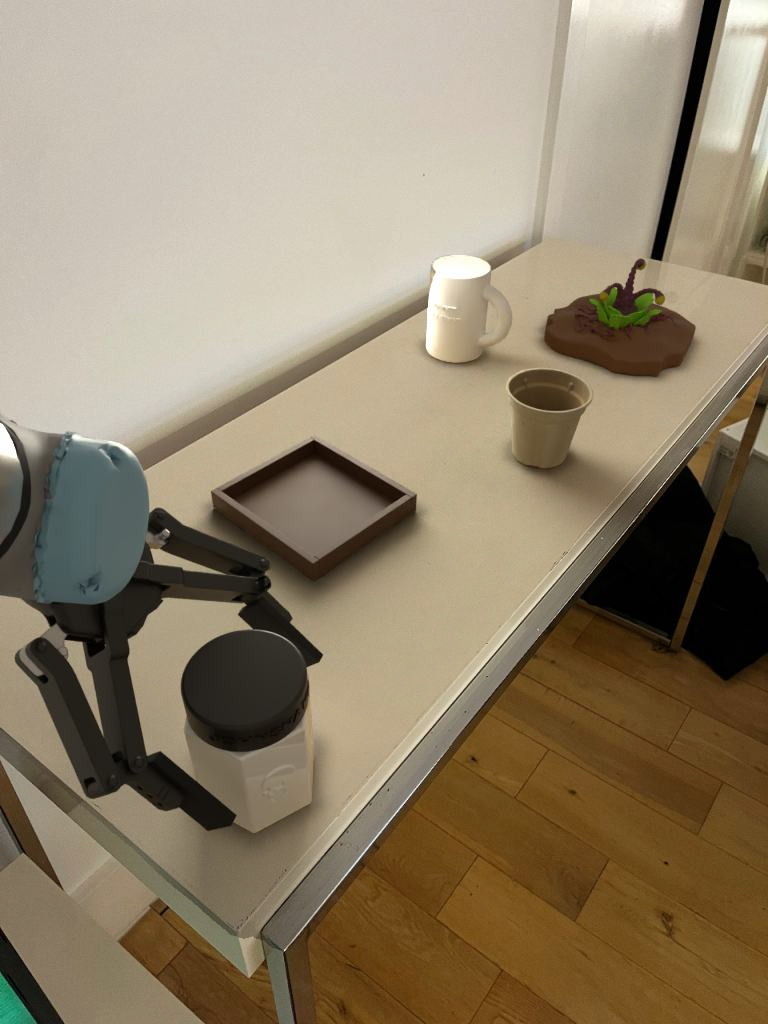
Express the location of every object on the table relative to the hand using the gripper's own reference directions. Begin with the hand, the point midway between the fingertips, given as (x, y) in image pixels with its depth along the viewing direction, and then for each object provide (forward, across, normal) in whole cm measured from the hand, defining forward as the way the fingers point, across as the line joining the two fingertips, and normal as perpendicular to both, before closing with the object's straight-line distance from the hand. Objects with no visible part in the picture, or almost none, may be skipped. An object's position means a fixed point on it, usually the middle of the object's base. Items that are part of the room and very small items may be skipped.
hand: (270, 736), depth 54 cm
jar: (+3, 0, -5) cm, 6 cm away
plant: (+15, -81, +6) cm, 83 cm away
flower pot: (+11, -48, +3) cm, 50 cm away
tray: (-3, -30, -11) cm, 32 cm away
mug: (+1, -69, -7) cm, 69 cm away
